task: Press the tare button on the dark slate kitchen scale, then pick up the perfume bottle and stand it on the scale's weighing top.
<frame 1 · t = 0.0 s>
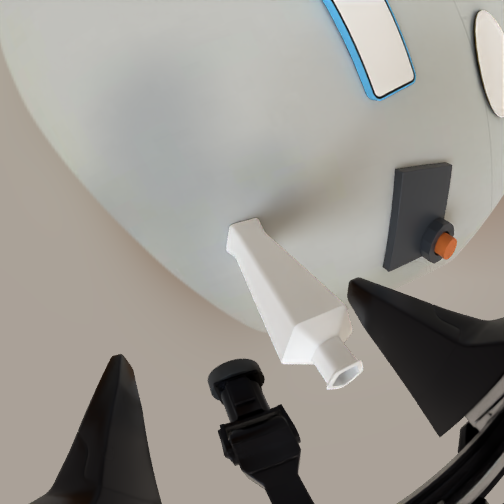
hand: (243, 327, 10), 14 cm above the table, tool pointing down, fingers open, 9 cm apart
plate: (493, 62, 23), on the table
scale: (417, 213, 31), on the table
smartphone: (363, 24, 17), on the table
perfume bottle: (244, 236, 24), on the table
tare button: (445, 245, 31), point 4 cm above the table, slide at 0.1 cm
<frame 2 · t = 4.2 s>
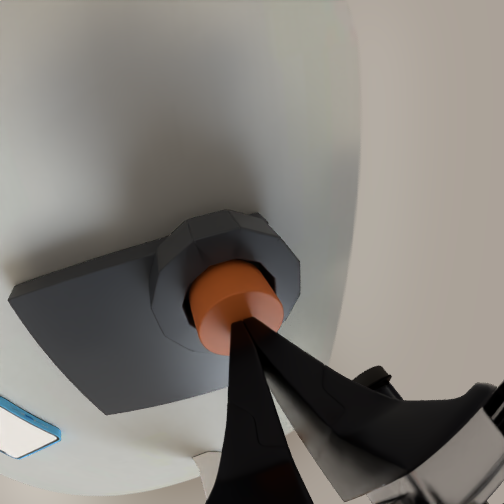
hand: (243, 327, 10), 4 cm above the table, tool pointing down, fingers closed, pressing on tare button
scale: (158, 334, 14), on the table
smartphone: (8, 428, 14), on the table
perfume bottle: (206, 455, 26), on the table
tare button: (234, 308, 10), point 3 cm above the table, slide at -0.1 cm, touching gripper
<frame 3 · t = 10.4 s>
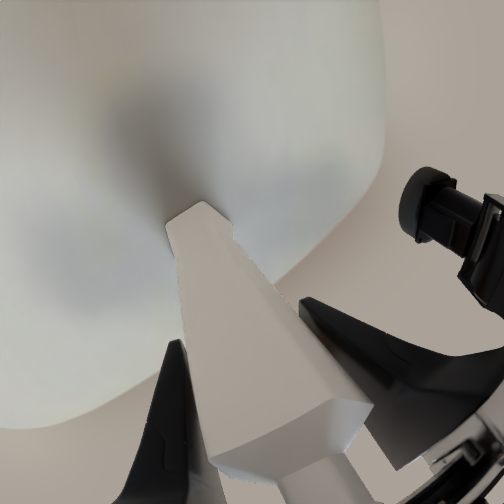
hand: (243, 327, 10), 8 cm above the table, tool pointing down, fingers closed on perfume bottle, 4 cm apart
perfume bottle: (196, 236, 16), on the table, touching gripper
when the fingers open (9 cm above the table, at t = 14.5 s): perfume bottle stays where it is, resting on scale.
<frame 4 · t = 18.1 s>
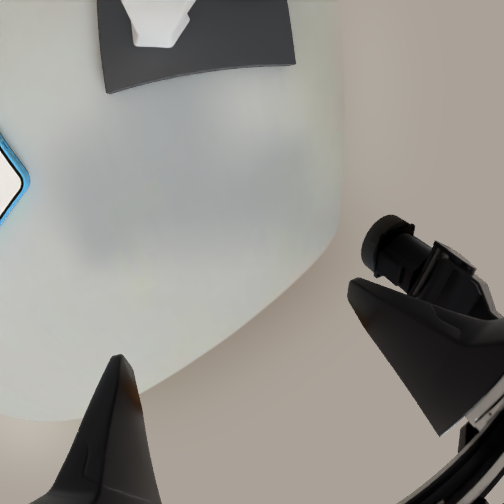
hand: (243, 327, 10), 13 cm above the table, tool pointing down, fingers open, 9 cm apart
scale: (193, 6, 13), on the table
perfume bottle: (156, 27, 12), point 1 cm above the table, touching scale
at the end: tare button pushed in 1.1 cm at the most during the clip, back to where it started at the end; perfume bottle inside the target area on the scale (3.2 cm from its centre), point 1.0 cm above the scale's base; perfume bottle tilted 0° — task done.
